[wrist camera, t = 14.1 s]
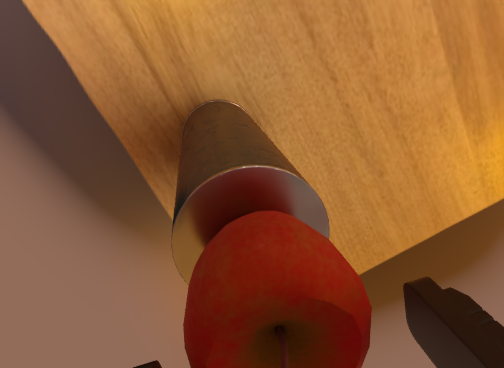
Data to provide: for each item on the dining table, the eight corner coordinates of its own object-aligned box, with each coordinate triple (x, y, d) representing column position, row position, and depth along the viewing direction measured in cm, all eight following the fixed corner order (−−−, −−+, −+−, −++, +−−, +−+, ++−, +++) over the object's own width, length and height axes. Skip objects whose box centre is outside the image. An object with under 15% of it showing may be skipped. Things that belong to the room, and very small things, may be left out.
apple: (233, 155, 16) (266, 239, 9) (340, 219, 18) (436, 328, 11) (160, 266, 17) (140, 415, 10) (267, 314, 19) (311, 467, 12)
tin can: (194, 181, 39) (198, 327, 19) (171, 111, 36) (146, 192, 16) (263, 161, 39) (341, 283, 19) (246, 90, 37) (315, 144, 16)
